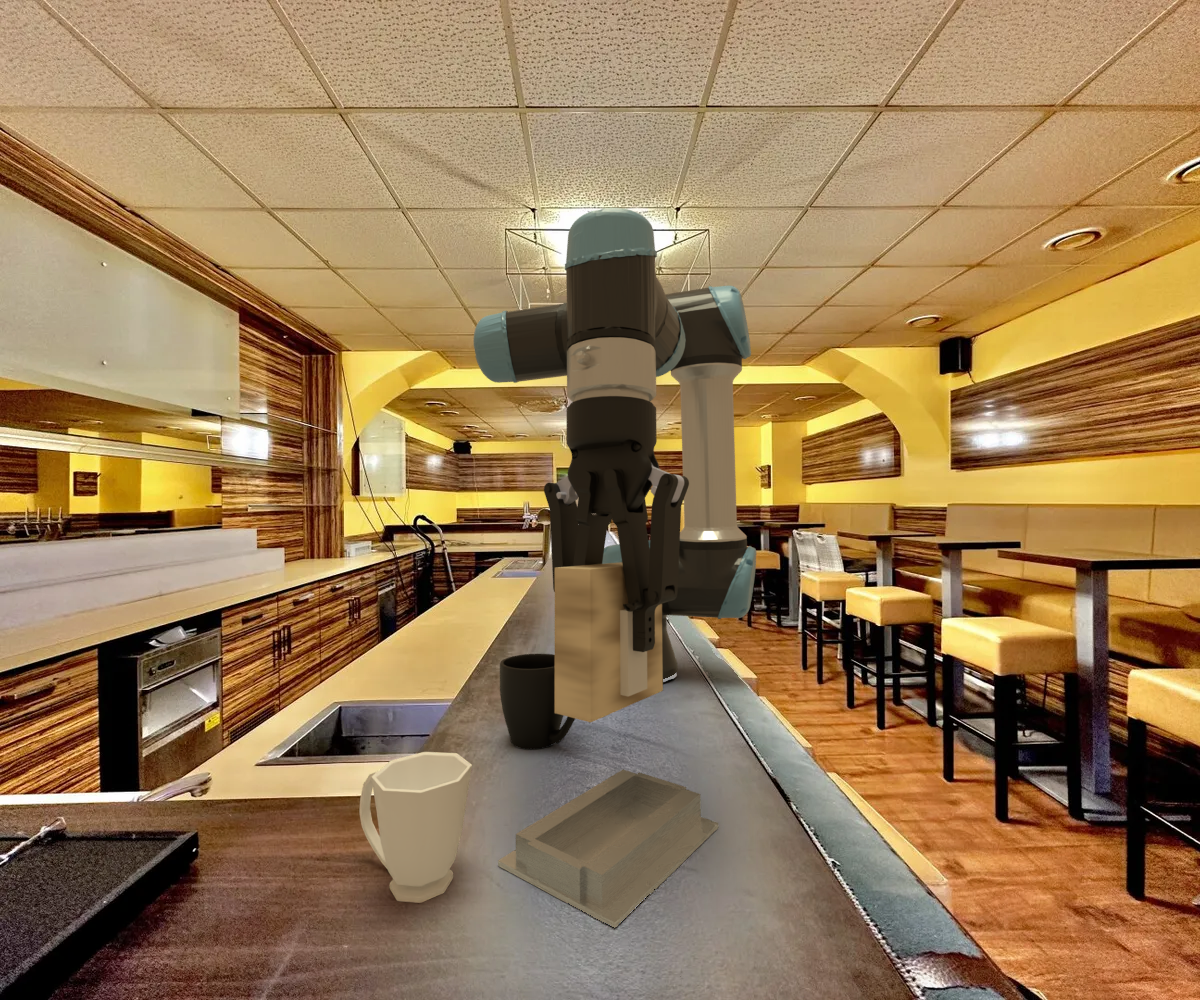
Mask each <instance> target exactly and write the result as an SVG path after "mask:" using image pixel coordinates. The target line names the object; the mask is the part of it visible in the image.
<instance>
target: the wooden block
mask: <svg viewBox="0 0 1200 1000" xmlns="http://www.w3.org/2000/svg"><path fill="white" fill-rule="evenodd" d="M623 604H628V597H627V591H626V584H625V578H624V571H623V564H622V562H619V563H606V564H594V565H581V566H569V567H557V568H555V592H554V655H555V713H556V714H560V715H563V717H564V716H565V717H571V718H575V720H580V721H584V722H588V723H593V722H596V721H597V720H600V719H602V718H604V717H607V716H608V715H611V714H613V713H616V712H617V711H620V710H622V709H624V708H627V707H629V706H631V705H634V704H636V703H639V702H640V701H642V700H645V699H648V698H649V697H652V696H654V695H656V694H659V693H660V692H663V690H664V687H663V686H664V685H663V684H664V683H663V665H662V604H660V605H658V606H657V607H656V609H655V644H654V647H653V649H652V650H648V651H647V689H645V690H643V691H641V692H638V693H636V694H633V695H631V696H629V697H628V696H623V695H620V610H625V608H624V607H623Z"/></svg>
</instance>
